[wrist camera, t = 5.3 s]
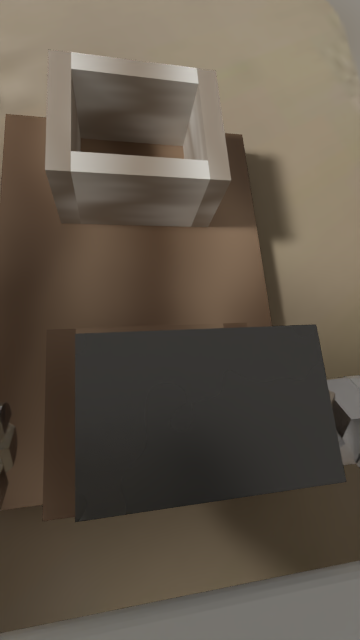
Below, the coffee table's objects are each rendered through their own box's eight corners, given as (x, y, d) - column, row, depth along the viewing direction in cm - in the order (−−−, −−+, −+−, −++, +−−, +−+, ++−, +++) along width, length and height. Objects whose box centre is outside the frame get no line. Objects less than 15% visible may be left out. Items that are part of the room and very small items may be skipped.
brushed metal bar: (105, 441, 15) (74, 521, 4) (104, 385, 15) (75, 333, 5) (191, 432, 15) (346, 481, 5) (186, 379, 16) (316, 324, 6)
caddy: (-8, 503, 14) (-78, 556, 9) (13, 135, 19) (-24, 35, 14) (280, 465, 17) (350, 490, 12) (234, 152, 22) (269, 73, 17)
